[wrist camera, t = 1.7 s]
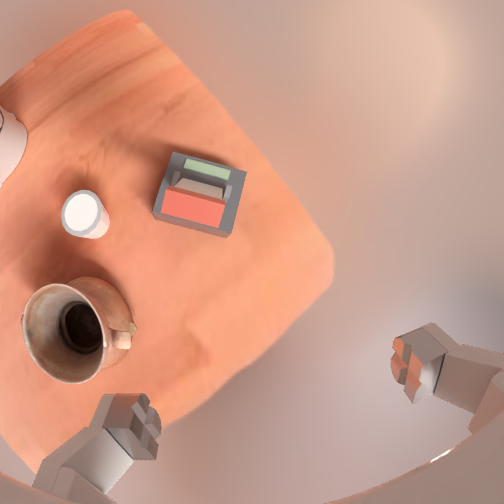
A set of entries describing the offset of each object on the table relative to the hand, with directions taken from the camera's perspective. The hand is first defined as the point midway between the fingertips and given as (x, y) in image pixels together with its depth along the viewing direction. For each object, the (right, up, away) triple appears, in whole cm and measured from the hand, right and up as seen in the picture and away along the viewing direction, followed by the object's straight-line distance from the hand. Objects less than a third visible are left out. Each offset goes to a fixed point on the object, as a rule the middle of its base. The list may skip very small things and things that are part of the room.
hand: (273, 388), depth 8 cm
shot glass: (-27, +9, +33) cm, 43 cm away
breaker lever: (-8, +13, +32) cm, 35 cm away
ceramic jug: (-27, -7, +31) cm, 42 cm away
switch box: (-9, +13, +37) cm, 41 cm away
